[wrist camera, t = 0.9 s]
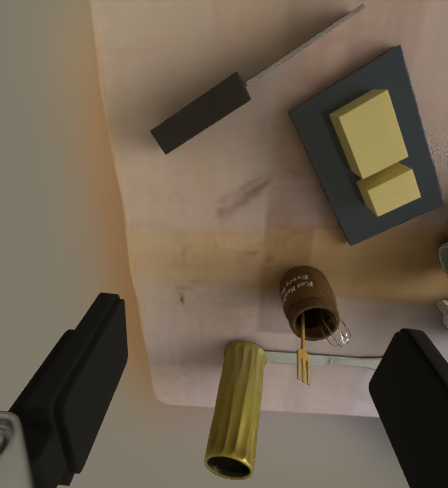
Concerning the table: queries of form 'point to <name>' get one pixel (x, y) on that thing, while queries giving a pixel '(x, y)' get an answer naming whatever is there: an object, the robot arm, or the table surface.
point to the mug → (444, 310)
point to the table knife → (218, 102)
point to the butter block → (369, 133)
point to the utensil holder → (309, 310)
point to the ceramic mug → (444, 257)
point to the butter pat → (389, 189)
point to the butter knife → (322, 360)
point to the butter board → (333, 157)
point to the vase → (236, 412)
